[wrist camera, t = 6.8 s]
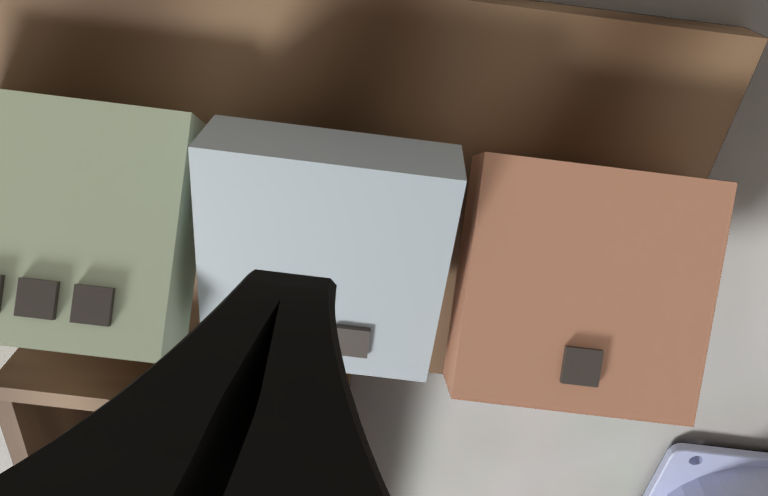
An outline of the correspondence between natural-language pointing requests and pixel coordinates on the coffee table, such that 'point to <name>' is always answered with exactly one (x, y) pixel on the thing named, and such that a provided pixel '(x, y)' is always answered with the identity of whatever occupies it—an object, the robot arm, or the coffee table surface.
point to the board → (373, 104)
